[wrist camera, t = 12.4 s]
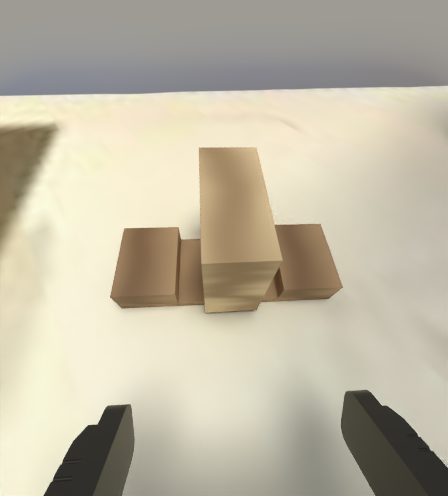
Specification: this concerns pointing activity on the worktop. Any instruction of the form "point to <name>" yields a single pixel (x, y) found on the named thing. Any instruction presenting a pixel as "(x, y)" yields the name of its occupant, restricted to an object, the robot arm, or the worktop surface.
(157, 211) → the worktop surface
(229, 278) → the oak crosspiece
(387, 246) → the worktop surface
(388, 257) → the worktop surface
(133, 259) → the notched beam
